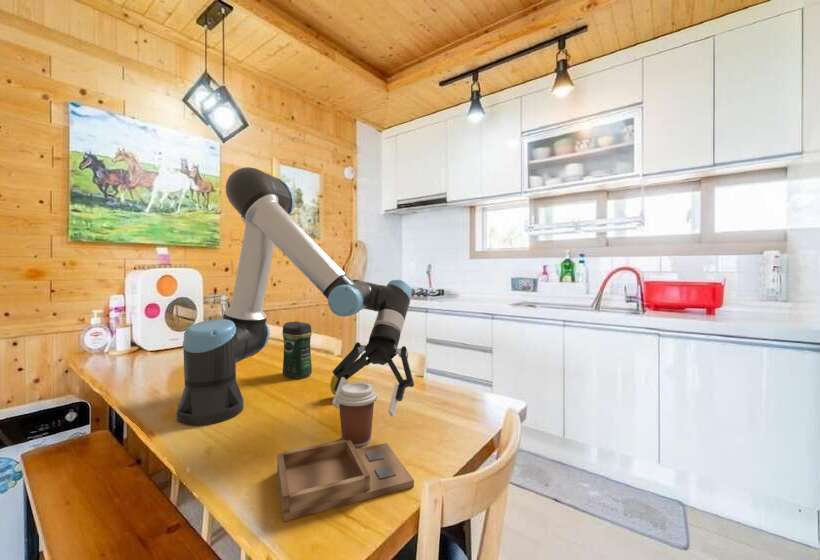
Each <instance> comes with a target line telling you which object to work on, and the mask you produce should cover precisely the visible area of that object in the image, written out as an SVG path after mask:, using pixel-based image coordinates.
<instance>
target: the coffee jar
mask: <svg viewBox="0 0 820 560" xmlns="http://www.w3.org/2000/svg"><path fill="white" fill-rule="evenodd" d="M312 332H313V331H312V325H311V324H310V323H307V322H300V321H289V322H285V323H284V324H283V326H282V338H283V361H282V362H283V363H282V375H283V376H285V377H287V378H291V379H301V378H302V379H303V378H304V379H305V378H307V377H309V376H310V375H312V373H313V371H312V356H311V355H312V354H311V337H312V334H313V333H312Z"/></svg>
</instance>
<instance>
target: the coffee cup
mask: <svg viewBox="0 0 820 560" xmlns="http://www.w3.org/2000/svg"><path fill="white" fill-rule="evenodd" d="M377 399H378V394H377V391H376V390H374V389H373V386H372V384H371V383H368V382H362V381H357V382H356V381H355V382H350V383H348V384H345V385H343V386H342V387H341V391H340V392H338V394H337V395H336V401H337V402H338V403H339V408H338V409H339V417H340V418H339V420H340V429H341V440H346V441H347V440H351V441H352V443H353V445H354V447H355V448H361V447H362V448H363V447H364V446H367V445H368V444H370V442H371V440H372V431H373V429H372V428H373V420H374V419H373V418H374V407H375V402H376V401H377Z"/></svg>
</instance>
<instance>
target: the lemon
mask: <svg viewBox="0 0 820 560" xmlns="http://www.w3.org/2000/svg"><path fill="white" fill-rule="evenodd" d="M337 380H338V378H337V377H336V376H335V375H334V374H333V376H332V377H331V379H330V383H329V384H330V385H329V387H330V391H331V393H332V394H333V396H335V394H336V391H335V390H334V388H335V385H336V383H337ZM347 382H348V383H351V381H350V378H348V379H347Z"/></svg>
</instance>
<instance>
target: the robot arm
mask: <svg viewBox="0 0 820 560" xmlns="http://www.w3.org/2000/svg"><path fill="white" fill-rule="evenodd" d="M225 195H226V197H227V200H228V202H229V203H230V204H231V206H232V207H233V208H234V210H236V211H237V212H238V213H239V214H240V219H241V221H242V222H243V224H244V225H245V226H244V227H245V228H244V231H243V232H244V233H243V239H242V243H241V249H240V255H239V259H238V266H237V270H236V277H235V281H234V287H233V291H232V299H231V303H230V306H229V307H228V308H225V309H224V311H223V316H222V318H219V319H218V318H217V319H210V320H207V321H206V320H204V321H200V322H196V323H194V324H192V325H190V326H188V327H187V328H186V329H185V331H184V333H183V342H182V349H183V373H184V377H183V378H184V388H183V391H182V394H181V397H180V399H179V403H178V405H177V408H176V420H177V422H178V423H180V424H183V425H187V426H205V425H206V426H207V425H212V424H216V423H221V422H223V421H226V420H227V421H228V420H229V419H232V418H234V417H236V416H238V415H239V414H241V412H242V411H243V410H244V405H245V403H244V402H245V401H244V397H243V394H242V392H241V389H240V387H239V384H238V381H237V368H236V367H237V363H239V362H242V361H244V360H245V359H247V358H251V357H253V356H255V355H257V354H258V353H259V352H261V351H262V350H264V348H265V347H266V345H267V344H268V343H269V340H270V334H271V333H270V328H269V325H268V322H267V314H266V313H265V312H264V310H263V309H264V303H265V298H266V294H267V293H266V292H267V288H268V282H269V278H270V273H271V267H272V262H273V255H274V250H275V246H276V247H277V248H278V249H279V250H280V251H281V252H282V253H283V254H284V256H285V257H287V259H289V260H290V262H291V263H292V264H293V265H294V266H295V267H296V268H297V269H298V270H299V271H300V272H301V273H302V274H303V275H304V276H305V277H306V278H307V279H308V281H310V283H312V284H313V286H314V287H316V288H317V291H319V292H320V293H321V294H322V295H323V297H325V298H326V299H327V304H328V307H329V309H330V311H331V312H332V313H333V314H335V316H338V317H341V318H343V317H350V316H354V315H356V314H358V313H359V312H360V311H362V310H368V311H374V312H377V314H376V318H375V321H374V323H373V327H372V329H371V332H370V335H369V338H368V343H367V344H365V345H364V344H361V343H360V342H356V343H355V344H354V347H352V350H351V351H350V352H349V353H348V354H347V355H345V357H344V358H343V359H342V361H340V362H339V364H337V366H336V367H335V368H334V369H333V370H332V373H333V376H334V375H335V376H336V377H337V378H338V380H337V383H336V385H335V388H334V390H335V391H336V394H335V395H333V396H334V397H333V400H332V402H331V404H332V405H333V406H334V408H336V409H340V408H339V403H338V402H337V401H336V395H337V394H338V392H340V391H341V387H342V386H343V385H345V384H348V382H347V379H348V378H349V379H350V378H351V377H353V375H355V374H356V373H357V372H359V371H360V370H362V369H363V368H364V367H365V366H368V365H370V364H372V365H382V366H384V365H386V364H388V366H389V368H390V370H391V371H392V373H393V376H394V377H395V379H396V380H397V382H398V383H394V387H393V390H392V394H391V398H390V402H389V404H388V405H389V406H388V409H387V413H388V414H389V416H390V417H395V414H396V411H397V406H398V402H402V401H403V399H404V394H405V390H406V389H407V388H408V387H410V388H413V387H415V383H414V378H413V375H412V371H411V368H410V364H409V359H408V358H409V357H408V356H409V351H408V349H407V347H406V346H404V345H403V346H402V347H401V348H399V342H400V339H401V334H402V331H403V328H404V324H405V320H406V316H407V313H408V310H409V306H410V304H411V299H412V294H413V291H412V287H411V285H410V284H409V283H408V282H406V281H405V280H401V279H392V280H390V281H389V282H388V283H387V284H386V285H381V284H376V283H372V282H368V281H364V280H359V279H357V278H355V279H354V278H350V276H348V275H347V274H346V273H345V271H344V270H343V269H342V268H341V267H340V266H339V265H338V264H337V263H336V262H335V261H334V260H333V259H332V258H331V257H330V255H328V254H327V252H326V251H325V250H323V248H322V247H321V246H320V245H319V244H318V243H317V242H316V241H315V240H314V239H313V238H312V237H311V236H310V235H309V234H308V233H307V232H306V231H305V230H304V229H303V228H302V227H301V225H299V224H298V222H297V221H296V220H295V219H294V218H293V217H292V216H291V214H292V212H293V211H294V208H295V204H296V203H295V202H296V201H295V195H294V192H293V191H292V189H291V187H290V186H289V185H288V184H287V183H285V182H284V181H283V180H282V179H281V178H278V177H276V176H273V175H271V174H269V173H267V172H264V171H263V170H261V169H258V168H255V167H250V166H249V167H245V166H244V167H242V168H238V169H236V170H234V171H233V172H231V174H230V175H228V178H227V180H226V183H225ZM397 355H398V356H399V358H400V359H401V362H402V367H403V371H404V374H405V378H406V379H404V378H403V377H402V375H401V372H400V371H399V370H398V368H397V365H396V364H395V361H394V360H393V359H394V358H395V357H396V356H397Z"/></svg>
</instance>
